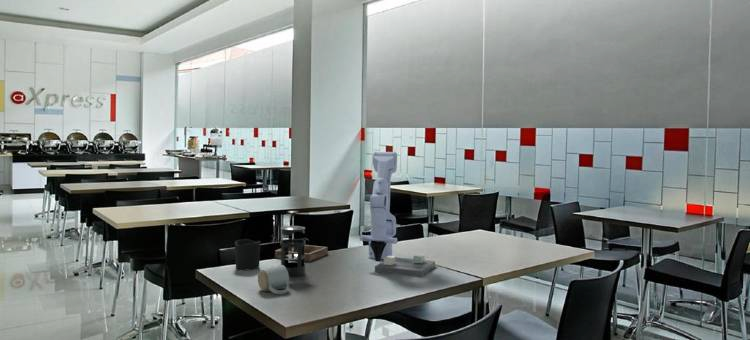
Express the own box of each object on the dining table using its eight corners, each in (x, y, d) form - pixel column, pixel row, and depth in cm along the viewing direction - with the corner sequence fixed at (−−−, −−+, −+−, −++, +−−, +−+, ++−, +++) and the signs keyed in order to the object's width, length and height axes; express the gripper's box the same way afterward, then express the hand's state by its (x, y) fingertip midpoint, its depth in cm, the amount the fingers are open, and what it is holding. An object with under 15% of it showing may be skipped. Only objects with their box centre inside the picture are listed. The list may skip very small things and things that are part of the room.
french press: (311, 274, 201) (312, 211, 200) (289, 278, 195) (290, 213, 193) (293, 268, 210) (294, 208, 208) (272, 272, 204) (272, 210, 202)
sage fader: (413, 262, 213) (413, 256, 212) (417, 260, 217) (417, 253, 217) (420, 263, 211) (421, 256, 211) (424, 261, 216) (424, 254, 215)
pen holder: (258, 264, 217) (258, 238, 216) (261, 269, 208) (261, 243, 207) (233, 265, 214) (233, 239, 213) (235, 271, 205) (235, 244, 204)
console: (374, 271, 207) (374, 266, 207) (391, 261, 224) (391, 256, 224) (421, 276, 200) (421, 271, 200) (435, 266, 217) (435, 261, 217)
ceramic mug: (256, 289, 181) (256, 266, 180) (278, 285, 186) (278, 262, 186) (271, 297, 173) (271, 273, 172) (294, 293, 178) (295, 269, 177)
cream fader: (383, 264, 209) (383, 258, 208) (388, 262, 213) (388, 255, 213) (391, 265, 208) (391, 258, 207) (395, 262, 212) (395, 256, 212)
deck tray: (275, 257, 228) (275, 250, 228) (295, 250, 243) (295, 243, 243) (309, 261, 222) (309, 254, 222) (327, 254, 237) (327, 247, 237)
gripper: (356, 225, 210) (356, 261, 211) (392, 228, 205) (392, 264, 205) (364, 223, 217) (363, 257, 217) (399, 225, 211) (398, 261, 212)
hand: (378, 260), depth 212 cm, fingers closed
